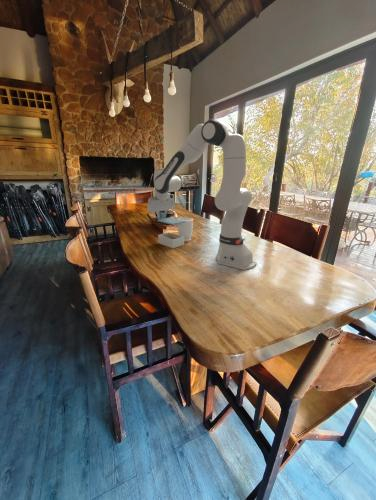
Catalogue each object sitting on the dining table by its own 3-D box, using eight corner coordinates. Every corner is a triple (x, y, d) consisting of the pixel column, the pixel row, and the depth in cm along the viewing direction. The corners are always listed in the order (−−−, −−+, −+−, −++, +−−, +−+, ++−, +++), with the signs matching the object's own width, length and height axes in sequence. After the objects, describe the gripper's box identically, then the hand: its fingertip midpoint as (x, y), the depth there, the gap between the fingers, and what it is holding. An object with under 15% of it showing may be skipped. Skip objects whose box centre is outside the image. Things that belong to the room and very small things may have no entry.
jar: (193, 238, 169) (193, 217, 164) (192, 242, 159) (192, 220, 154) (178, 237, 170) (178, 216, 164) (176, 241, 160) (176, 220, 155)
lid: (185, 223, 148) (185, 215, 146) (173, 225, 140) (173, 218, 139) (165, 218, 160) (165, 211, 158) (153, 220, 152) (153, 213, 151)
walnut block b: (172, 243, 155) (172, 237, 154) (166, 244, 153) (166, 238, 152) (169, 241, 158) (169, 235, 157) (163, 242, 156) (163, 236, 155)
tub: (184, 245, 153) (184, 236, 151) (172, 249, 146) (172, 240, 144) (169, 240, 162) (169, 232, 160) (158, 243, 155) (158, 235, 153)
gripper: (151, 197, 140) (152, 220, 145) (176, 195, 154) (176, 216, 159) (144, 196, 144) (145, 219, 149) (169, 194, 158) (169, 214, 163)
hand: (161, 217), depth 154 cm, fingers closed on lid, 3 cm apart
